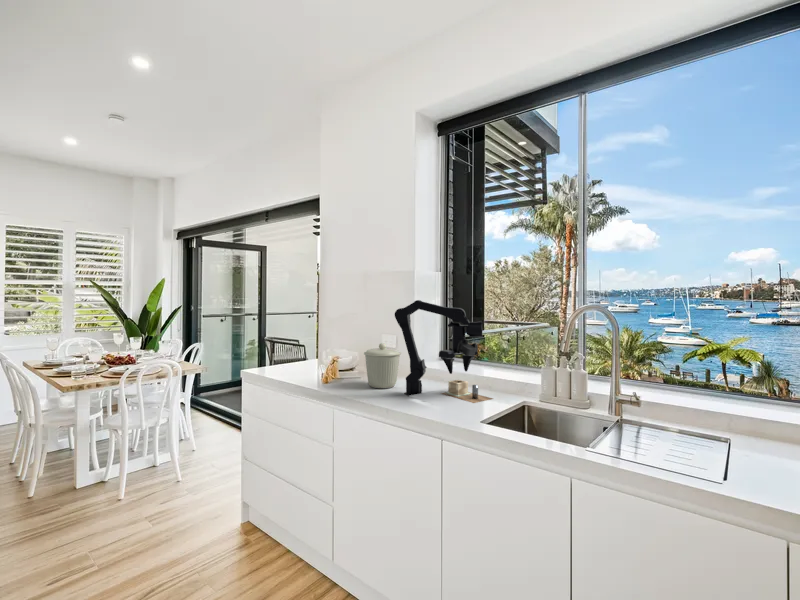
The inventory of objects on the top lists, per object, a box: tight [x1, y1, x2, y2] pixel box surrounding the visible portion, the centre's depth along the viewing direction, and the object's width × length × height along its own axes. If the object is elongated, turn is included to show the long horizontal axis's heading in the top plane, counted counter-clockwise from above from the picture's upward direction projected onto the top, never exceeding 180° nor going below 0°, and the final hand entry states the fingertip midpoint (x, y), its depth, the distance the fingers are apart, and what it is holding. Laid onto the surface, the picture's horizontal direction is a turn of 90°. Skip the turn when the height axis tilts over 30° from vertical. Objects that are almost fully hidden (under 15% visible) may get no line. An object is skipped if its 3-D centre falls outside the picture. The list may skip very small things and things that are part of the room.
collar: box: [447, 379, 469, 395], centre depth 185 cm, size 6×6×5 cm
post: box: [471, 384, 479, 399], centre depth 177 cm, size 2×2×6 cm
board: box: [440, 391, 494, 404], centre depth 181 cm, size 12×20×2 cm, turn 37°
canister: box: [363, 342, 402, 389], centre depth 205 cm, size 18×18×21 cm
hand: (458, 372), depth 185 cm, fingers open, 9 cm apart
